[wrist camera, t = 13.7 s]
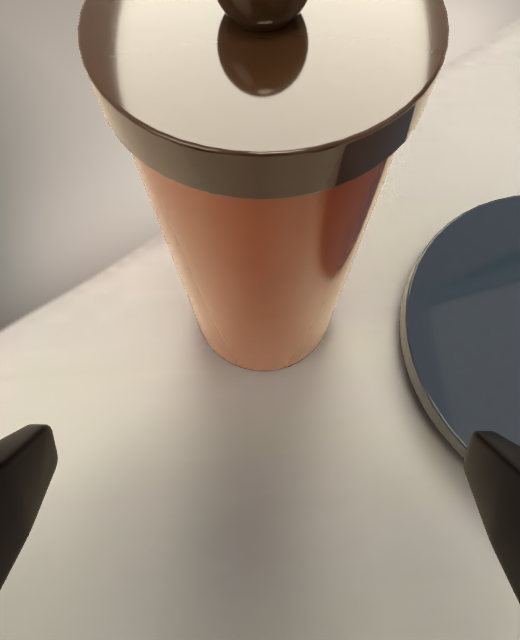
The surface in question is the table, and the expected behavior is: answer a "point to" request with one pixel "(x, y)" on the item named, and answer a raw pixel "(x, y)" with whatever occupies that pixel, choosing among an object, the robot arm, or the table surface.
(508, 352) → the slate plate
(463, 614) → the table surface
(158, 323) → the table surface
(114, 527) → the table surface
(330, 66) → the canister
